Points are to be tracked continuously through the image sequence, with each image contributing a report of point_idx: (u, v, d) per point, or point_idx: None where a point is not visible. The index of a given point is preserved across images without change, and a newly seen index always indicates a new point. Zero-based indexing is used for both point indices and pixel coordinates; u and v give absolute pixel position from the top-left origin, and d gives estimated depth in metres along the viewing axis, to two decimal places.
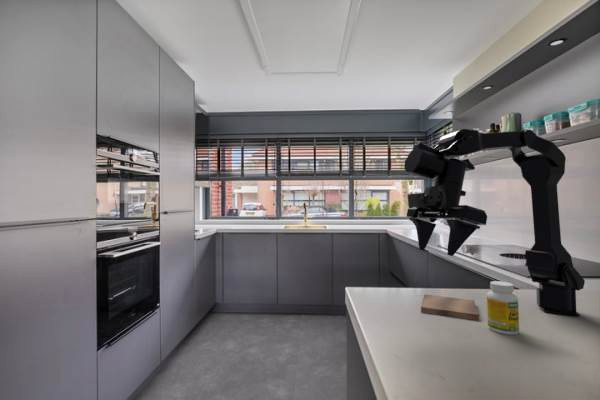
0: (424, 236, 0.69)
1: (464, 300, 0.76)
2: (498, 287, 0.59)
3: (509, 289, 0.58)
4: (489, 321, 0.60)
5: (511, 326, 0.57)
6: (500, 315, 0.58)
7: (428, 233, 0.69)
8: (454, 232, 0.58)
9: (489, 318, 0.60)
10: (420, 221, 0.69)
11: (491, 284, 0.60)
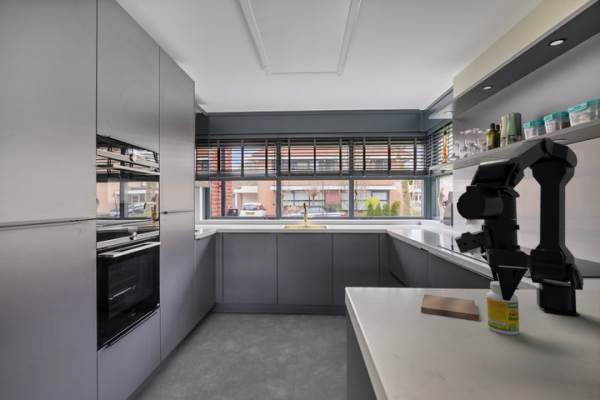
0: None
1: (464, 300, 0.76)
2: (497, 287, 0.59)
3: None
4: (489, 321, 0.60)
5: (511, 327, 0.57)
6: (500, 315, 0.58)
7: None
8: (498, 277, 0.55)
9: (489, 318, 0.60)
10: None
11: (491, 284, 0.60)
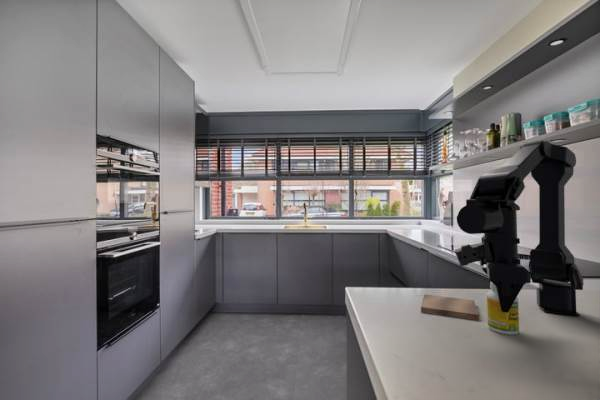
0: None
1: (464, 300, 0.76)
2: None
3: None
4: (489, 321, 0.60)
5: (511, 326, 0.57)
6: (499, 315, 0.58)
7: None
8: (497, 289, 0.57)
9: (489, 318, 0.60)
10: None
11: (491, 284, 0.60)
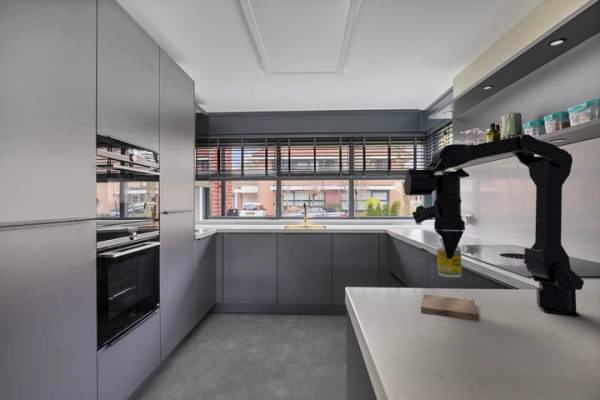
0: None
1: (464, 300, 0.76)
2: None
3: None
4: (438, 268, 0.73)
5: (454, 271, 0.70)
6: (445, 262, 0.71)
7: None
8: None
9: (438, 266, 0.73)
10: None
11: (440, 238, 0.73)
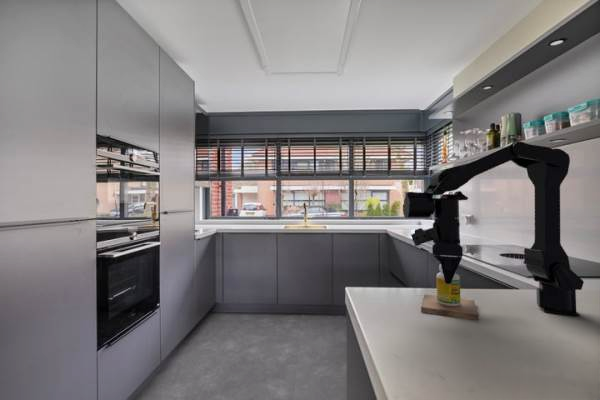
0: None
1: (464, 300, 0.76)
2: None
3: None
4: (437, 296, 0.74)
5: (453, 299, 0.71)
6: (444, 291, 0.71)
7: None
8: (441, 264, 0.69)
9: (437, 294, 0.74)
10: None
11: (439, 266, 0.74)
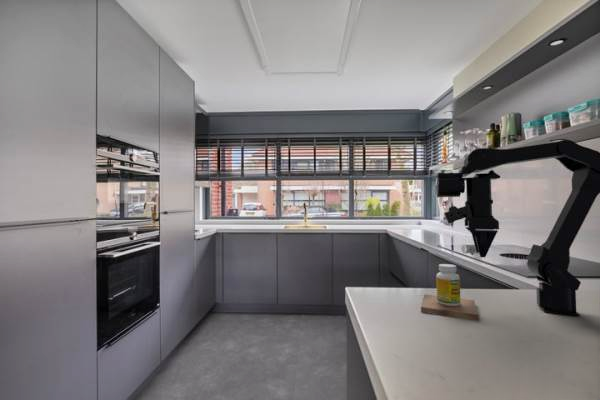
0: None
1: (464, 300, 0.76)
2: (443, 268, 0.72)
3: (451, 269, 0.72)
4: (437, 296, 0.74)
5: (453, 299, 0.71)
6: (444, 291, 0.71)
7: None
8: (476, 239, 0.72)
9: (437, 294, 0.74)
10: (471, 229, 0.83)
11: (439, 266, 0.74)
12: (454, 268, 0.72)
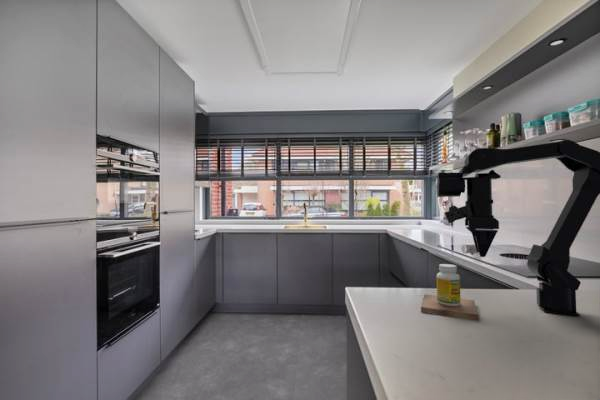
0: None
1: (464, 300, 0.76)
2: (443, 268, 0.72)
3: (452, 269, 0.72)
4: (437, 296, 0.74)
5: (453, 299, 0.71)
6: (444, 291, 0.71)
7: None
8: (476, 238, 0.73)
9: (437, 294, 0.74)
10: None
11: (439, 266, 0.74)
12: (454, 268, 0.72)
